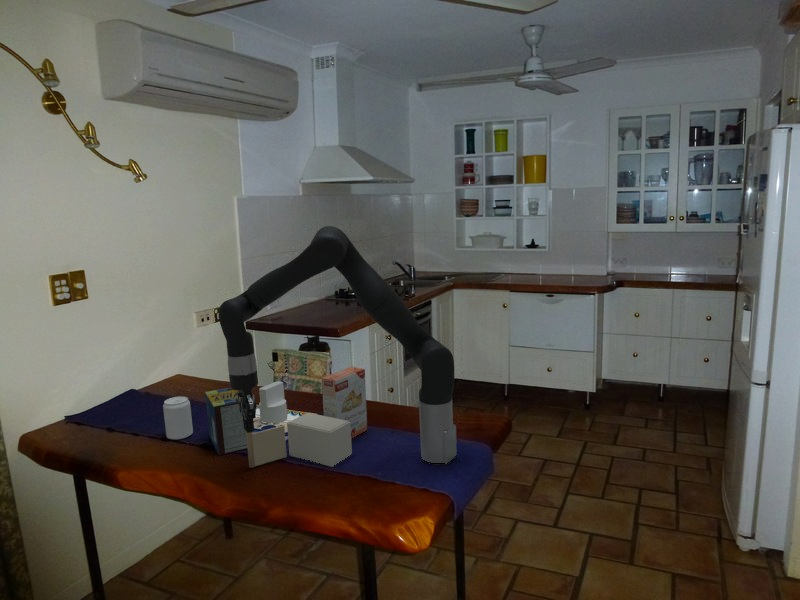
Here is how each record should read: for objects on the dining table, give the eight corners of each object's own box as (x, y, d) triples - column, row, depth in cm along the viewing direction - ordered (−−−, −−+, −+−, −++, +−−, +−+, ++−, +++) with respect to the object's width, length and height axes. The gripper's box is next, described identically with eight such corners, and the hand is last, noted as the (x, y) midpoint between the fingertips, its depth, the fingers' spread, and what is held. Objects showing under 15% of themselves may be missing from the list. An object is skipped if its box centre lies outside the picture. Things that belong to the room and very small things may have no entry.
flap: (250, 468, 166) (245, 414, 164) (248, 466, 168) (243, 413, 165) (287, 457, 172) (283, 405, 170) (285, 455, 174) (280, 403, 171)
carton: (352, 454, 173) (350, 420, 171) (332, 467, 166) (330, 431, 164) (309, 444, 182) (307, 412, 180) (289, 455, 174) (286, 422, 172)
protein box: (242, 431, 194) (238, 385, 192) (253, 448, 181) (249, 399, 178) (209, 438, 190) (204, 391, 187) (218, 456, 176) (213, 405, 173)
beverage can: (162, 436, 192) (157, 401, 190) (185, 428, 198) (181, 394, 196) (174, 443, 187) (169, 406, 185) (198, 434, 193) (194, 399, 191)
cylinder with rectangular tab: (274, 426, 197) (271, 391, 195) (254, 421, 202) (251, 387, 200) (293, 416, 205) (290, 383, 203) (273, 412, 210) (270, 380, 208)
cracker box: (339, 447, 178) (334, 380, 175) (324, 443, 182) (320, 377, 178) (369, 431, 189) (365, 368, 186) (354, 427, 193) (351, 365, 189)
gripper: (223, 367, 167) (230, 426, 170) (234, 378, 155) (241, 441, 158) (250, 362, 170) (256, 420, 173) (263, 373, 158) (269, 435, 161)
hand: (249, 430), depth 165 cm, fingers closed on flap, 2 cm apart
